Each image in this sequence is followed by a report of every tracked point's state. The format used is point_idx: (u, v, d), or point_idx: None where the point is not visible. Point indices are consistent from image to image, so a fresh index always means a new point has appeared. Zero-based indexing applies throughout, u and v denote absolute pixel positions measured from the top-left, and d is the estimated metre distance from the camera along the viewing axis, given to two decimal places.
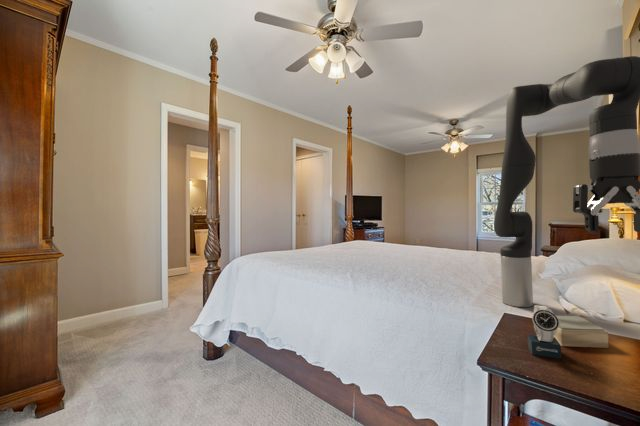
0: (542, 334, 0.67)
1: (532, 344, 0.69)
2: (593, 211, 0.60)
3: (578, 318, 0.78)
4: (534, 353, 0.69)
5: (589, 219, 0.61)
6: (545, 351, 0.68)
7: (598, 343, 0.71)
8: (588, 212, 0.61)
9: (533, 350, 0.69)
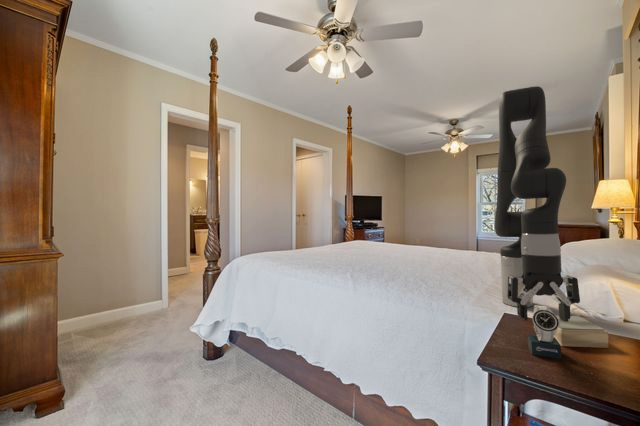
0: (542, 334, 0.67)
1: (532, 344, 0.69)
2: (522, 301, 0.69)
3: (578, 318, 0.78)
4: (534, 353, 0.69)
5: (520, 308, 0.69)
6: (545, 351, 0.68)
7: (598, 343, 0.71)
8: (519, 301, 0.69)
9: (533, 350, 0.69)
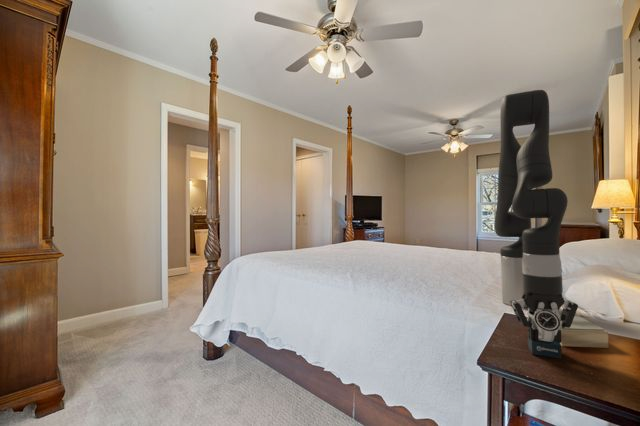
0: (543, 334, 0.66)
1: (532, 344, 0.69)
2: (534, 326, 0.69)
3: (578, 318, 0.78)
4: (534, 353, 0.68)
5: (531, 332, 0.69)
6: (545, 351, 0.68)
7: (598, 343, 0.71)
8: (530, 326, 0.69)
9: (533, 350, 0.69)
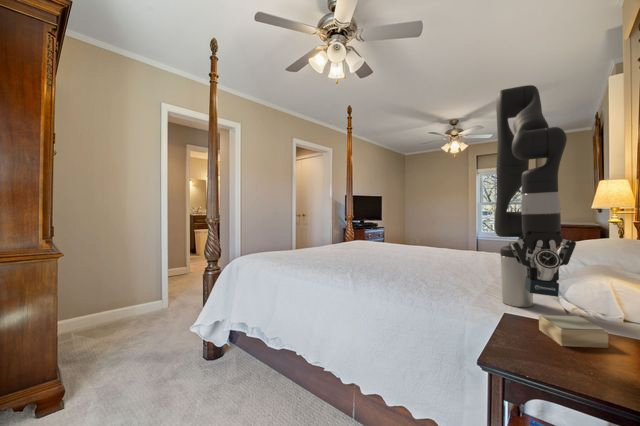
0: (543, 272, 0.67)
1: (531, 283, 0.69)
2: (532, 264, 0.70)
3: (578, 318, 0.78)
4: (532, 291, 0.69)
5: (530, 271, 0.70)
6: (543, 290, 0.69)
7: (598, 343, 0.71)
8: (529, 265, 0.70)
9: (531, 288, 0.69)
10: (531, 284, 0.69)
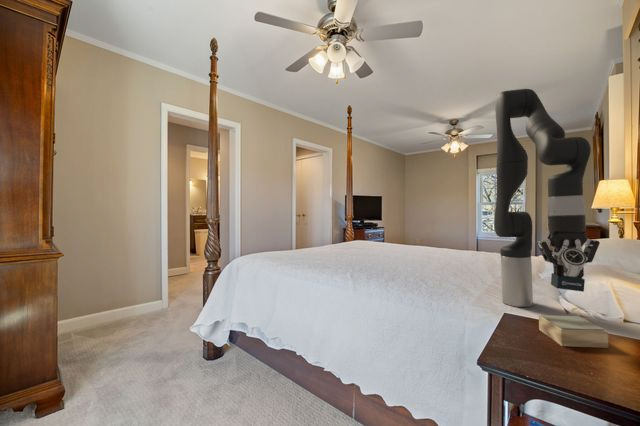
0: (570, 268, 0.73)
1: (558, 279, 0.75)
2: (559, 262, 0.76)
3: (578, 318, 0.78)
4: (559, 287, 0.75)
5: (556, 268, 0.76)
6: (569, 285, 0.74)
7: (598, 343, 0.71)
8: (555, 262, 0.76)
9: (558, 284, 0.75)
10: (558, 280, 0.75)
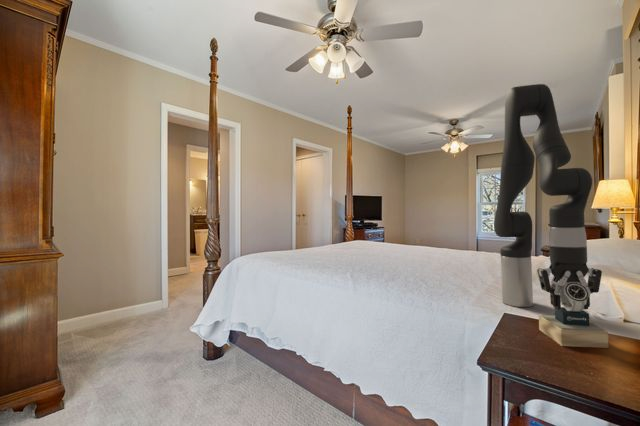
0: (574, 304, 0.73)
1: (563, 315, 0.75)
2: (556, 291, 0.76)
3: None
4: (565, 323, 0.75)
5: (553, 297, 0.76)
6: (575, 320, 0.74)
7: (598, 343, 0.71)
8: (552, 292, 0.76)
9: (564, 320, 0.75)
10: (563, 316, 0.75)
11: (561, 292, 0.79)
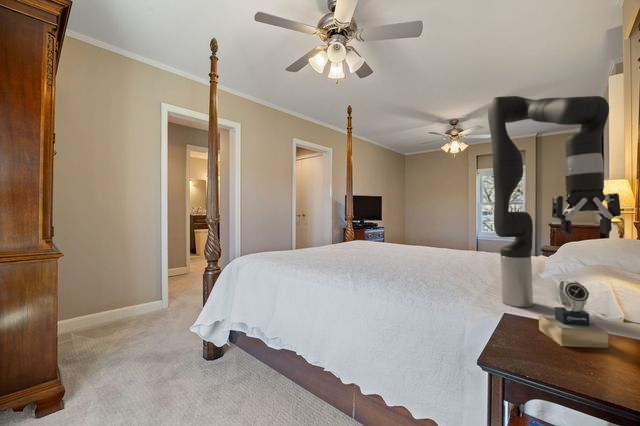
0: (574, 304, 0.73)
1: (563, 315, 0.75)
2: (567, 217, 0.76)
3: None
4: (565, 323, 0.75)
5: (564, 223, 0.77)
6: (575, 320, 0.74)
7: (598, 343, 0.71)
8: (563, 218, 0.77)
9: (564, 320, 0.75)
10: (563, 316, 0.75)
11: (561, 292, 0.79)
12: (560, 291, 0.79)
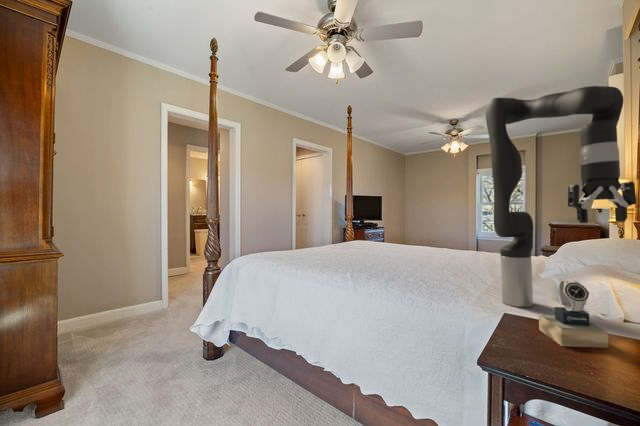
0: (574, 304, 0.73)
1: (563, 315, 0.75)
2: (583, 205, 0.77)
3: None
4: (565, 323, 0.75)
5: (580, 212, 0.78)
6: (575, 320, 0.74)
7: (598, 343, 0.71)
8: (579, 206, 0.78)
9: (564, 320, 0.75)
10: (563, 316, 0.75)
11: (561, 292, 0.79)
12: (560, 291, 0.79)
